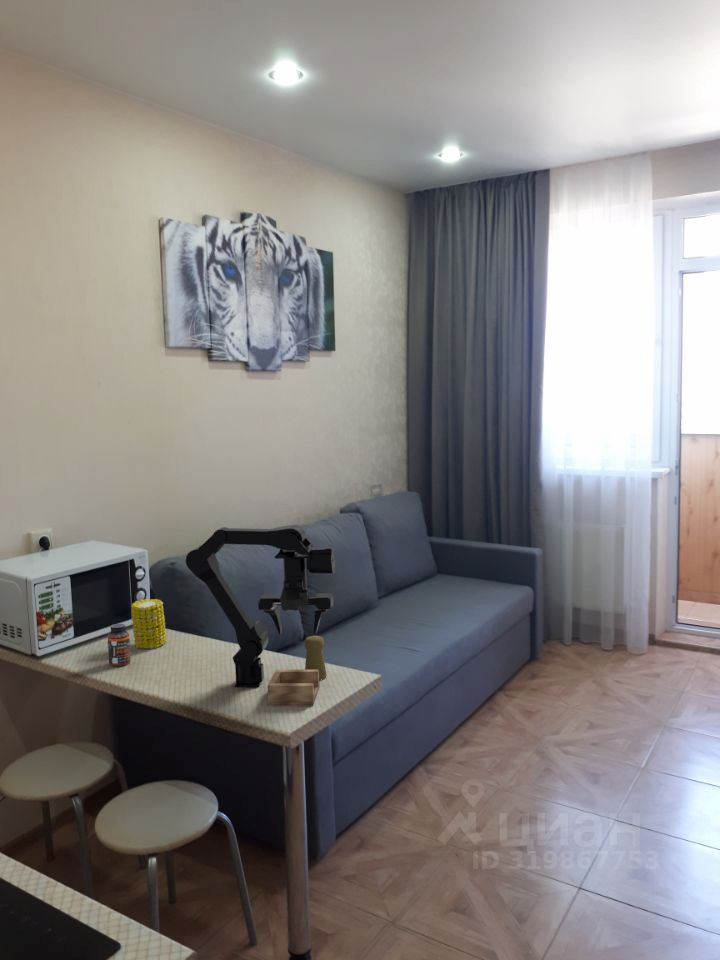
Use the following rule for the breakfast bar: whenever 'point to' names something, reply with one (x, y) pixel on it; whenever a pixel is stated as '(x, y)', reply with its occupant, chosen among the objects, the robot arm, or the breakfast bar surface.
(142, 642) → the food
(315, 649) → the cork
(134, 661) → the breakfast bar surface
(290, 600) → the robot arm
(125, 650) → the supplement bottle
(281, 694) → the wooden box
